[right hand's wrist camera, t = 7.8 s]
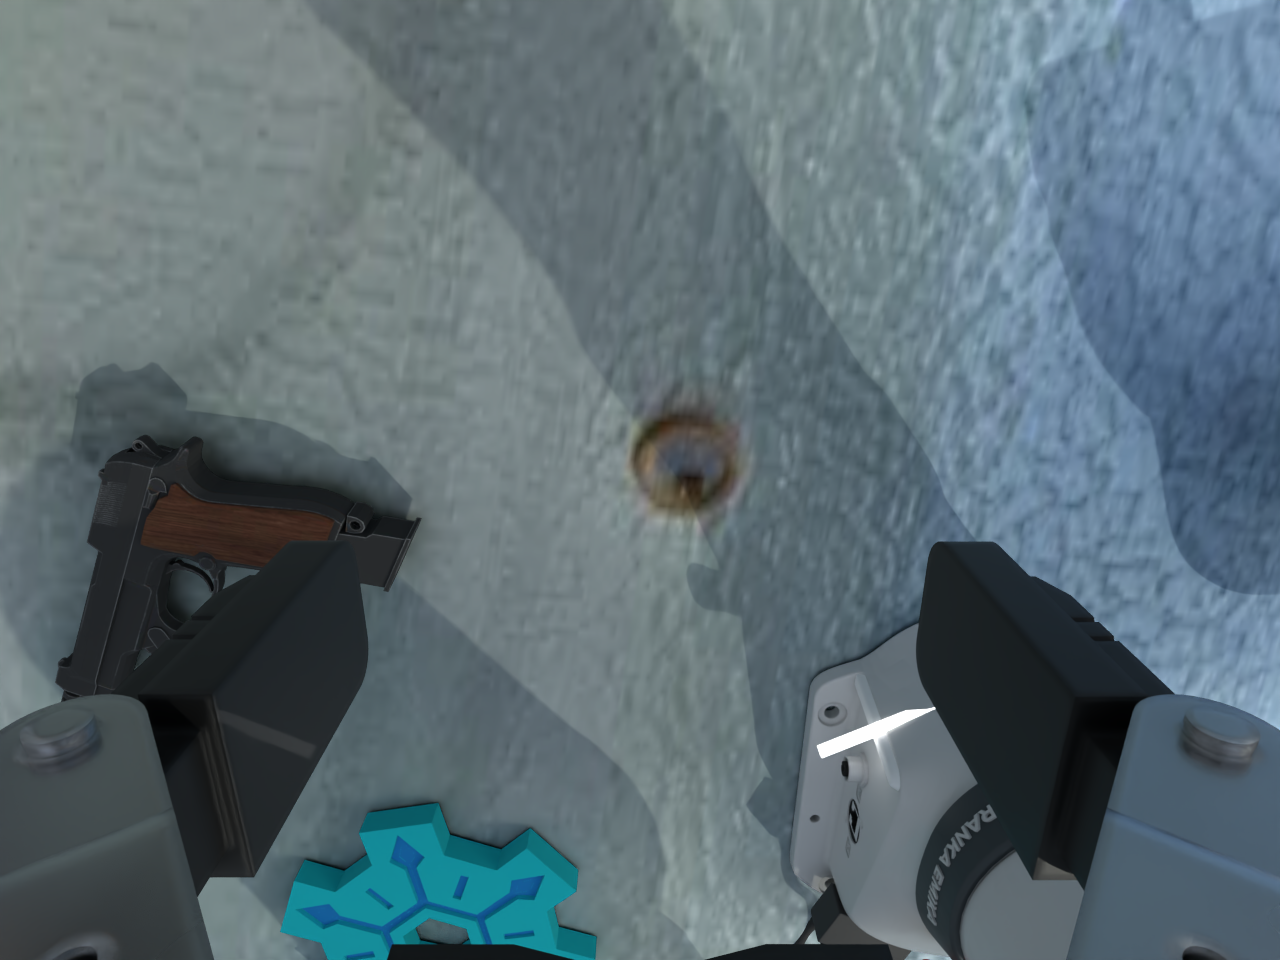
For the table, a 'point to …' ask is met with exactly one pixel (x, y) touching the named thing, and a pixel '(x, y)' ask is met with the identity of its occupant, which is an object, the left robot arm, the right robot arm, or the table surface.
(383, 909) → the decorative ornament
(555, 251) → the table surface
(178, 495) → the handgun
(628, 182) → the table surface
